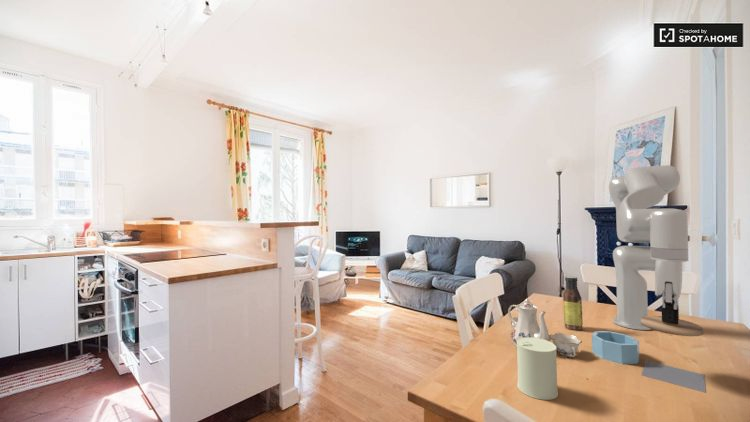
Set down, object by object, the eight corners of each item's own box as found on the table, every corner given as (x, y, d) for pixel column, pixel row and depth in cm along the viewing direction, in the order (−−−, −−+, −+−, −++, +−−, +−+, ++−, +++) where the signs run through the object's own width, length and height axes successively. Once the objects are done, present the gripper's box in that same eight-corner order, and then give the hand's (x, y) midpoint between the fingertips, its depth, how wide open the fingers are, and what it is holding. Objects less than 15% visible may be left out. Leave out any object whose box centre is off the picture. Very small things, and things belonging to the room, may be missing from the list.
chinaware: (592, 363, 96) (594, 309, 97) (555, 368, 90) (557, 310, 91) (518, 332, 122) (521, 290, 123) (485, 334, 115) (488, 289, 116)
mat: (645, 362, 93) (645, 360, 93) (704, 376, 84) (704, 374, 84) (641, 377, 84) (641, 374, 84) (705, 394, 76) (705, 392, 76)
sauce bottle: (585, 331, 118) (584, 279, 118) (567, 330, 119) (566, 278, 119) (578, 325, 124) (576, 275, 125) (561, 324, 125) (559, 275, 126)
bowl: (597, 346, 104) (597, 328, 104) (640, 357, 96) (640, 337, 96) (590, 357, 96) (589, 337, 96) (636, 369, 88) (635, 348, 88)
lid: (643, 316, 94) (642, 296, 94) (702, 326, 85) (702, 304, 85) (638, 327, 85) (638, 305, 85) (704, 340, 76) (703, 316, 76)
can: (510, 380, 83) (509, 335, 83) (542, 379, 84) (542, 334, 84) (530, 401, 74) (529, 350, 74) (566, 398, 75) (565, 348, 75)
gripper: (653, 250, 93) (654, 311, 93) (647, 256, 82) (649, 326, 82) (688, 252, 88) (689, 316, 88) (688, 259, 76) (689, 333, 76)
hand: (670, 320), depth 85 cm, fingers closed on lid, 3 cm apart
